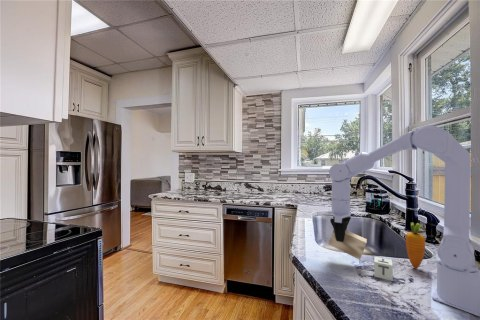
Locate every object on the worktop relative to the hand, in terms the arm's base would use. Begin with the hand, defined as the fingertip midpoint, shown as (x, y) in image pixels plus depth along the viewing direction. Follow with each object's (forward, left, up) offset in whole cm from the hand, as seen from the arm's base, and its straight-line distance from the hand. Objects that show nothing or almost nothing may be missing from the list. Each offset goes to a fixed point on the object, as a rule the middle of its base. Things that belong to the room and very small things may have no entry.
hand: (340, 239), depth 75 cm
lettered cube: (-12, -2, -8) cm, 15 cm away
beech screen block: (-1, 0, -3) cm, 4 cm away
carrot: (-17, -15, -8) cm, 24 cm away
